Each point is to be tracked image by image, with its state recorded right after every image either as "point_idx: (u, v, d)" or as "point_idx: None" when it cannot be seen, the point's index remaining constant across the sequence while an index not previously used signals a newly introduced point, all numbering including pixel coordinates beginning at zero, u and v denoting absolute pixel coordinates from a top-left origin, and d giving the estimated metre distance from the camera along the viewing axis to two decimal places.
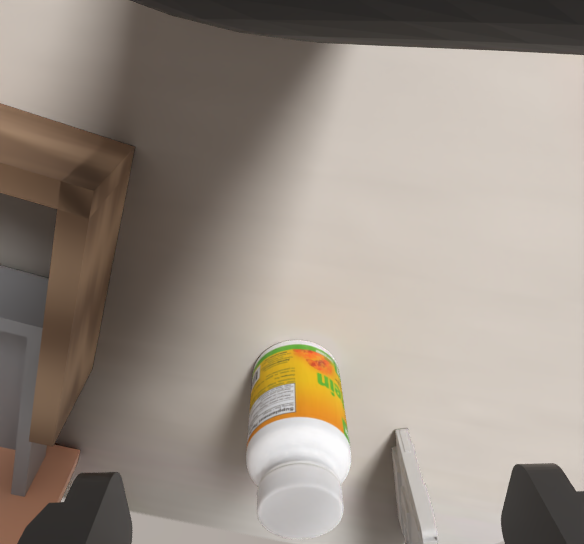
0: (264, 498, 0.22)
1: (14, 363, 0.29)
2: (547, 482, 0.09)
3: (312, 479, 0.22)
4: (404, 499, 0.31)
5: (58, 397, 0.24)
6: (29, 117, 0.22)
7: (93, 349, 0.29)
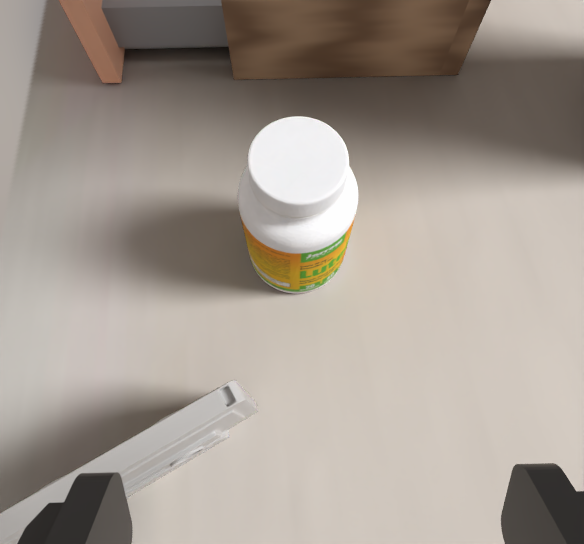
0: (309, 117, 0.20)
1: None
2: (547, 482, 0.09)
3: (348, 159, 0.19)
4: None
5: None
6: None
7: (266, 71, 0.31)
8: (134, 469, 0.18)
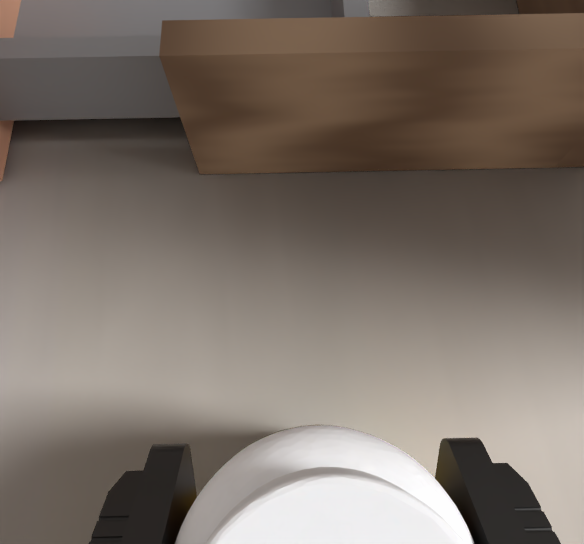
0: (373, 482, 0.06)
1: None
2: (466, 453, 0.10)
3: None
4: None
5: (295, 50, 0.13)
6: None
7: (256, 163, 0.18)
8: None
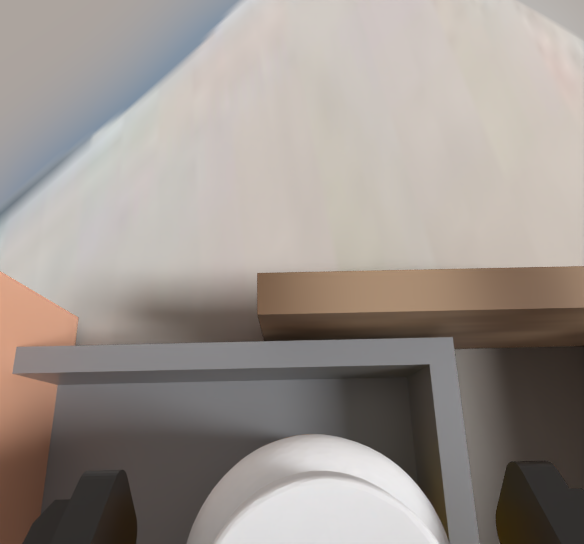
0: (355, 482, 0.07)
1: None
2: (541, 479, 0.09)
3: None
4: None
5: None
6: None
7: None
8: None
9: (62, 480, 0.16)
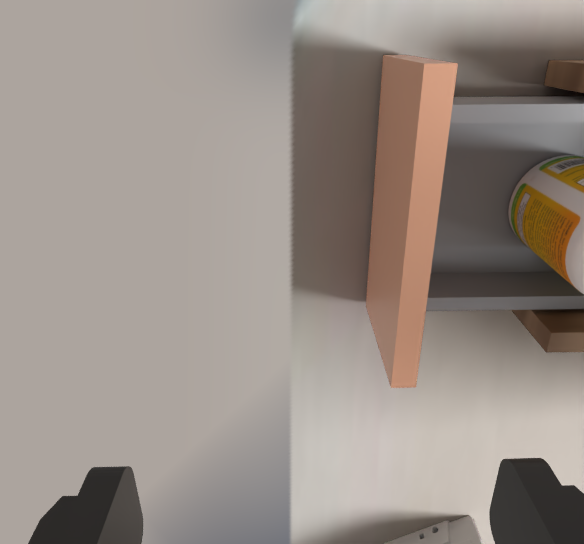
0: None
1: (523, 246, 0.28)
2: (533, 476, 0.09)
3: None
4: None
5: None
6: None
7: None
8: None
9: None
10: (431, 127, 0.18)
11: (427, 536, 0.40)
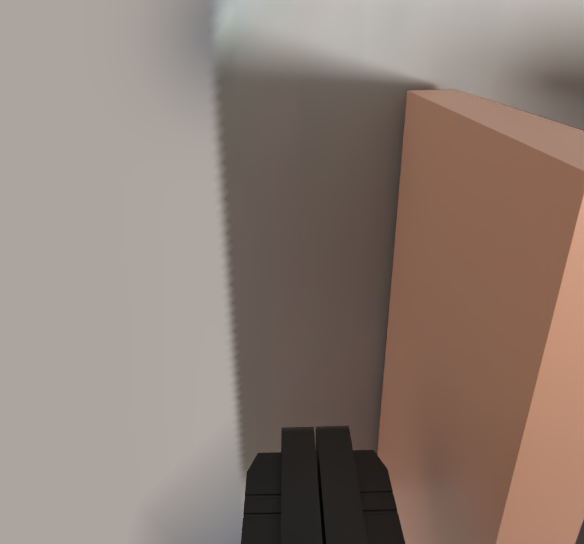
0: None
1: None
2: (330, 441, 0.10)
3: None
4: None
5: None
6: None
7: None
8: None
9: None
10: None
11: None
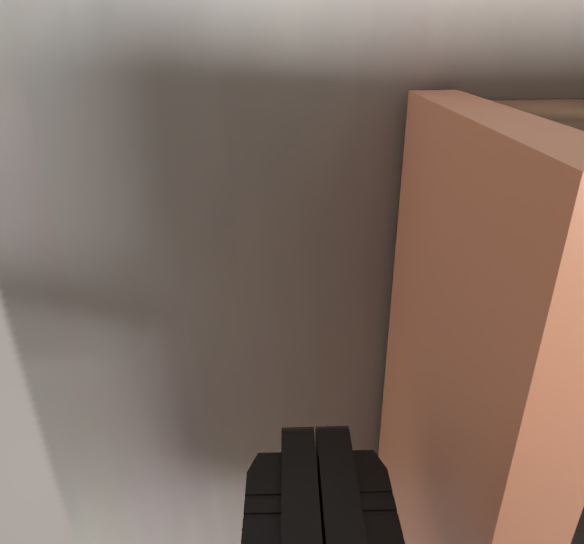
0: None
1: None
2: (330, 441, 0.10)
3: None
4: None
5: None
6: None
7: None
8: None
9: None
10: (581, 352, 0.06)
11: None
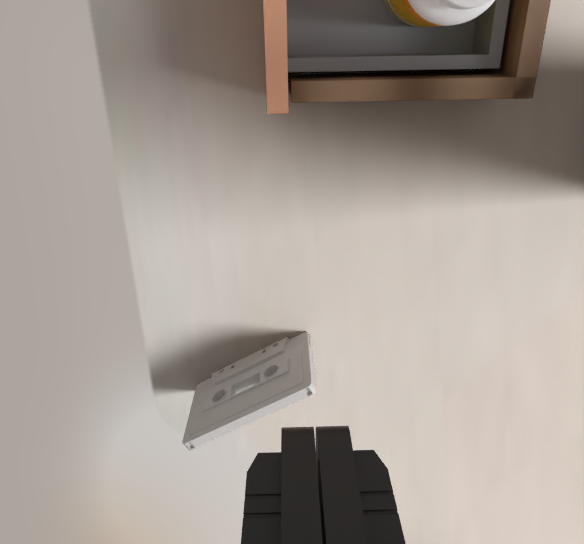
0: None
1: (400, 26, 0.32)
2: (330, 440, 0.10)
3: None
4: (287, 364, 0.41)
5: (350, 99, 0.30)
6: None
7: None
8: None
9: None
10: None
11: (268, 350, 0.44)
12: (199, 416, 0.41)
